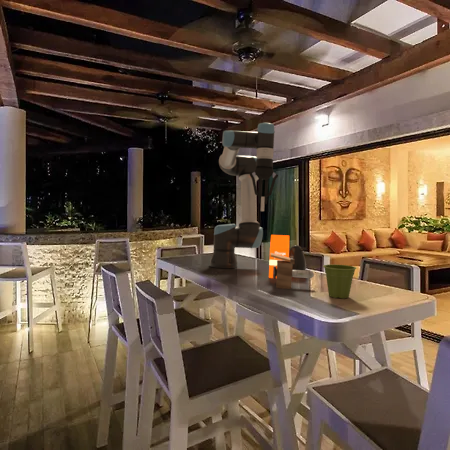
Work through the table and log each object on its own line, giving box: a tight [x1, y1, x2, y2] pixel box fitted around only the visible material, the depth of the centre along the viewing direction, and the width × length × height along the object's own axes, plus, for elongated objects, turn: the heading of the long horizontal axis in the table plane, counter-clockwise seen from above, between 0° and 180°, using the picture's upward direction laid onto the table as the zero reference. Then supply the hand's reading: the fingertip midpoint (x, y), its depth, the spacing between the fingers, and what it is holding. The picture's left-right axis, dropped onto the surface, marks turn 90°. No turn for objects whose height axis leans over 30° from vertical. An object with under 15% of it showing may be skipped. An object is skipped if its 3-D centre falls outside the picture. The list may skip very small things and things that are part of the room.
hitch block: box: [275, 256, 295, 290], centre depth 149 cm, size 10×7×12 cm, turn 172°
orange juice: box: [268, 234, 290, 279], centre depth 170 cm, size 8×9×20 cm
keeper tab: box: [269, 253, 293, 262], centre depth 149 cm, size 8×10×1 cm
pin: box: [272, 266, 315, 280], centre depth 149 cm, size 5×17×5 cm, turn 82°
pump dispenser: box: [289, 244, 307, 271], centre depth 174 cm, size 10×10×15 cm
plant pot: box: [322, 263, 357, 299], centre depth 134 cm, size 12×12×11 cm
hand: (262, 211), depth 162 cm, fingers closed
